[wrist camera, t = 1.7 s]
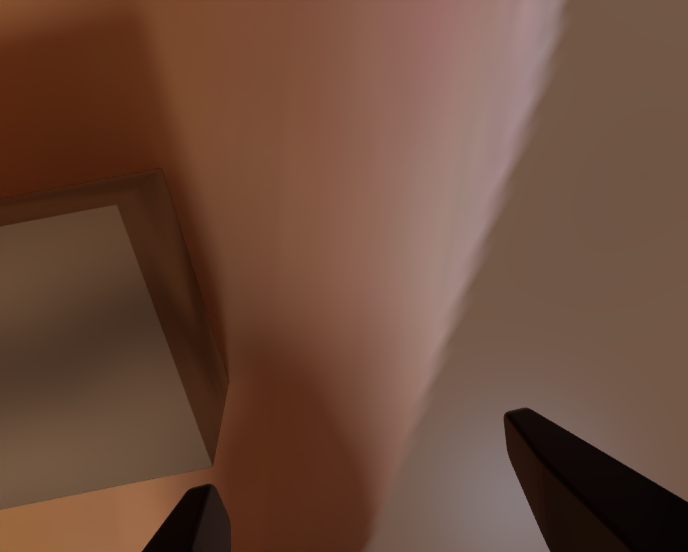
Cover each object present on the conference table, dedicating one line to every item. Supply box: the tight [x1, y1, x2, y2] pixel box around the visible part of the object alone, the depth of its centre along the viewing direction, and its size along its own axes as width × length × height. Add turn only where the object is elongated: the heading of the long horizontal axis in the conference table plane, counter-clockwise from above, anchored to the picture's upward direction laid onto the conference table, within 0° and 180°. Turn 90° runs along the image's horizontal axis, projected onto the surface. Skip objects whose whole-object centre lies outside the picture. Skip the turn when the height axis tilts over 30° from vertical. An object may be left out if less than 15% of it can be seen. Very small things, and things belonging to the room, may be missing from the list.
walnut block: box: [0, 169, 229, 510], centre depth 17 cm, size 9×9×5 cm
